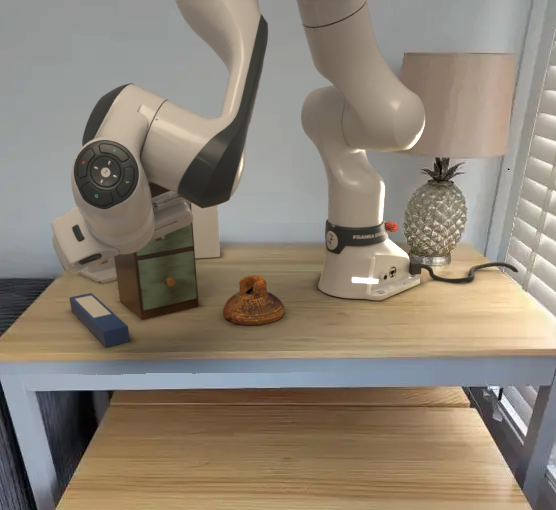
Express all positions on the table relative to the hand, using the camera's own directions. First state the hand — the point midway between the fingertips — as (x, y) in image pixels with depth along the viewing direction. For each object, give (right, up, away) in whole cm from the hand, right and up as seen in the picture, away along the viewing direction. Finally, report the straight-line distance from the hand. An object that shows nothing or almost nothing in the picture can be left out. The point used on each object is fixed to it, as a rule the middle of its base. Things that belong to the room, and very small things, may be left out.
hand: (130, 247), depth 95 cm
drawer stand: (0, -6, +27) cm, 28 cm away
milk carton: (+5, +10, +57) cm, 58 cm away
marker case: (-10, -11, +18) cm, 24 cm away
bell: (+18, -8, +23) cm, 30 cm away
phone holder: (-13, +4, +47) cm, 49 cm away
